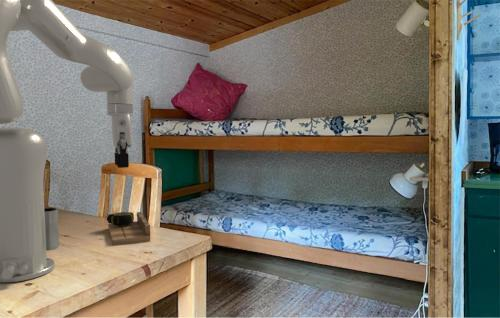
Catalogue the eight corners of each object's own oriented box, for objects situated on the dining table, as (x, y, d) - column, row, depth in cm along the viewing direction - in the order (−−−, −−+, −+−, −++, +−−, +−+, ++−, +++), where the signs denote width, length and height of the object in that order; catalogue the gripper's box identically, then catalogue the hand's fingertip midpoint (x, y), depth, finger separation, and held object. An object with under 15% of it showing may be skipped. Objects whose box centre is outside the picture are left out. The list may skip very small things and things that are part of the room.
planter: (40, 246, 100) (38, 208, 99) (58, 244, 102) (57, 207, 101) (39, 251, 96) (37, 212, 95) (59, 248, 98) (57, 210, 97)
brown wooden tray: (150, 241, 105) (150, 225, 105) (112, 245, 101) (112, 229, 101) (141, 225, 122) (140, 211, 122) (108, 228, 118) (108, 214, 118)
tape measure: (126, 221, 121) (126, 210, 121) (137, 225, 117) (137, 213, 116) (106, 224, 116) (106, 213, 116) (117, 228, 112) (117, 216, 111)
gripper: (136, 109, 108) (137, 168, 109) (129, 112, 124) (131, 163, 125) (108, 108, 105) (110, 169, 106) (105, 111, 121) (107, 164, 122)
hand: (121, 166), depth 116 cm, fingers open, 9 cm apart
